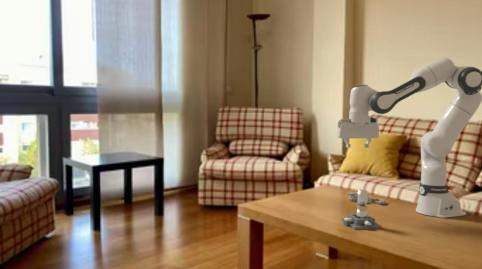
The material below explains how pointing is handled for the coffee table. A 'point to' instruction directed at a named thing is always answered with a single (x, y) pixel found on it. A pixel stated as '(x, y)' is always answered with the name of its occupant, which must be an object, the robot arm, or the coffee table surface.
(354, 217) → the shaft housing
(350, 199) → the pulley system
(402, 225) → the coffee table surface
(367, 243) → the coffee table surface
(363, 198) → the coupler
